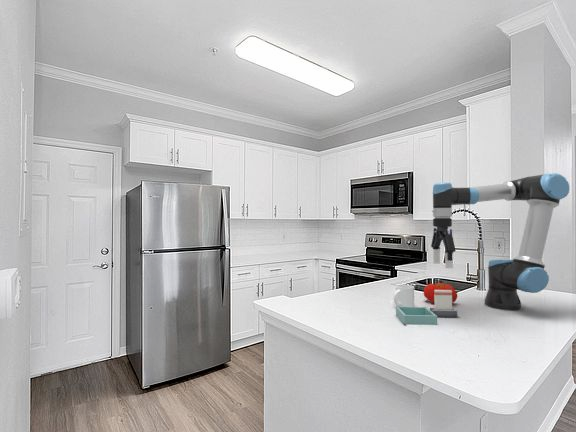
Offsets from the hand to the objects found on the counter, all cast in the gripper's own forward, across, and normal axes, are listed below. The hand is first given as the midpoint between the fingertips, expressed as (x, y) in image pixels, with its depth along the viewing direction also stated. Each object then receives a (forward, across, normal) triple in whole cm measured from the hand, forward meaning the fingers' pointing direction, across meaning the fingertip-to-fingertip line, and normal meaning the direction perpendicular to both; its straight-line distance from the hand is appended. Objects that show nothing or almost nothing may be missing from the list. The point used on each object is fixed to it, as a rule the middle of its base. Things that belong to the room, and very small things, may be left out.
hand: (442, 265), depth 143 cm
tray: (+22, +7, -14) cm, 27 cm away
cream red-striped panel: (+22, 0, 0) cm, 22 cm away
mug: (+23, -13, -14) cm, 30 cm away
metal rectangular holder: (+22, 0, 0) cm, 22 cm away
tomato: (+23, -22, +7) cm, 32 cm away
